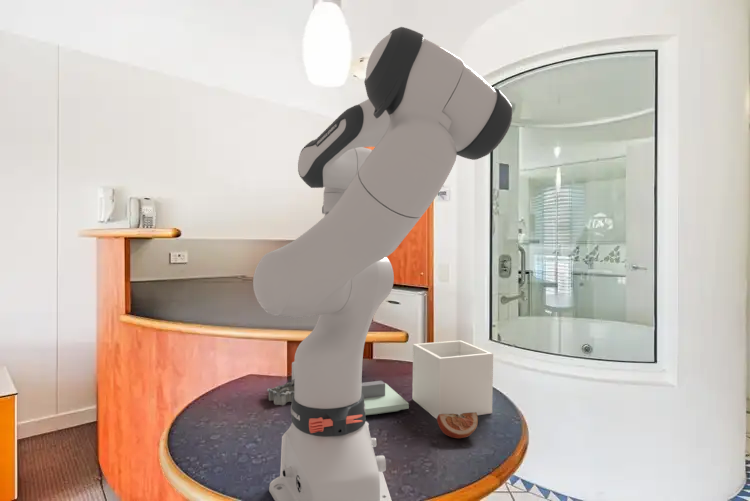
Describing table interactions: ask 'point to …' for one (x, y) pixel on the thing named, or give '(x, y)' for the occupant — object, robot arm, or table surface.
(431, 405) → the box
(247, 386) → the table surface
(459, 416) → the fruit slice
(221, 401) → the table surface
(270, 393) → the egg carton
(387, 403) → the lid
